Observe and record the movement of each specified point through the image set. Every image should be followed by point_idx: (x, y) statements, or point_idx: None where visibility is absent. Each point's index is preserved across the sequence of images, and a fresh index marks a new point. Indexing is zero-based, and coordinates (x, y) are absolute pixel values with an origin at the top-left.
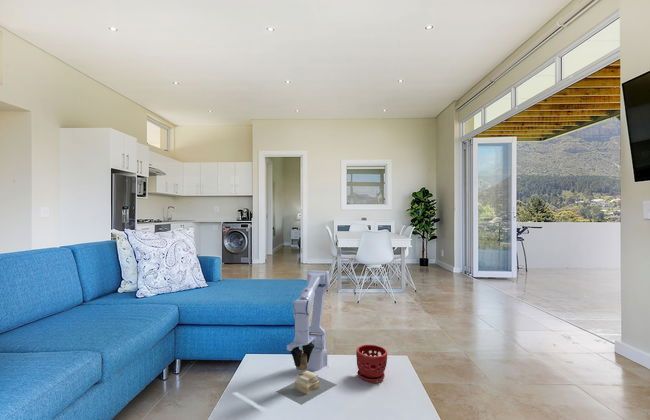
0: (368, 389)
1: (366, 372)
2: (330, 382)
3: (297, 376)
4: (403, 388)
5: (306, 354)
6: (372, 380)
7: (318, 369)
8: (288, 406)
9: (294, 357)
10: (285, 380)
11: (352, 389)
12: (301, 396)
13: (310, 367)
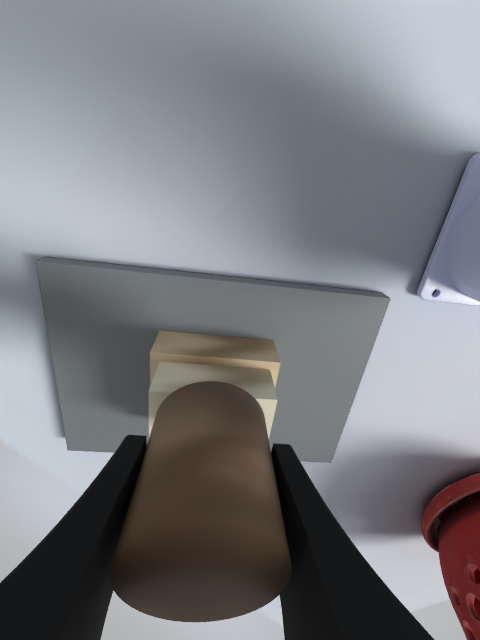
0: (368, 529)
1: (444, 567)
2: (337, 432)
3: (150, 397)
4: (423, 582)
5: (264, 600)
6: (426, 541)
7: (473, 298)
8: (28, 394)
9: (73, 541)
10: (235, 169)
11: (340, 497)
12: (120, 411)
13: (466, 254)
